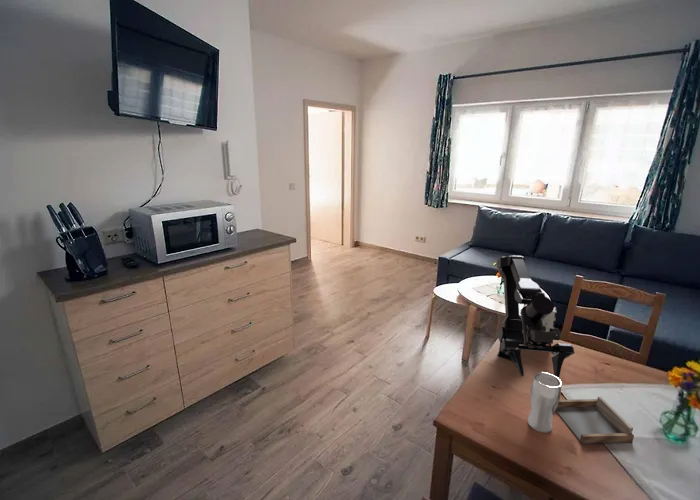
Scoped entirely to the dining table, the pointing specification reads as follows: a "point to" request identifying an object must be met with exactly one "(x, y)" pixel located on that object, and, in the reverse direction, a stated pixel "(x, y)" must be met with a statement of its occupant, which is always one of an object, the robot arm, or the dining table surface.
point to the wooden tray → (594, 421)
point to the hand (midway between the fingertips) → (539, 378)
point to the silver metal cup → (544, 401)
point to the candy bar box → (549, 321)
